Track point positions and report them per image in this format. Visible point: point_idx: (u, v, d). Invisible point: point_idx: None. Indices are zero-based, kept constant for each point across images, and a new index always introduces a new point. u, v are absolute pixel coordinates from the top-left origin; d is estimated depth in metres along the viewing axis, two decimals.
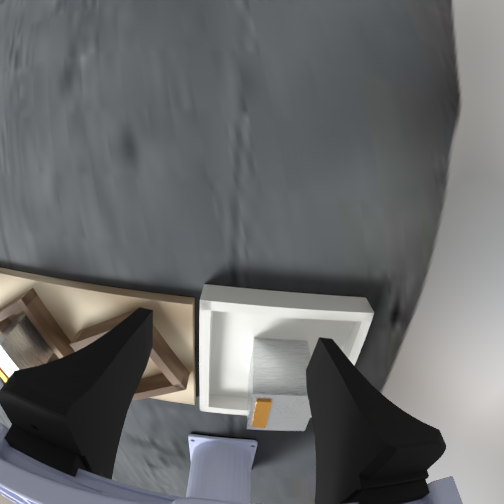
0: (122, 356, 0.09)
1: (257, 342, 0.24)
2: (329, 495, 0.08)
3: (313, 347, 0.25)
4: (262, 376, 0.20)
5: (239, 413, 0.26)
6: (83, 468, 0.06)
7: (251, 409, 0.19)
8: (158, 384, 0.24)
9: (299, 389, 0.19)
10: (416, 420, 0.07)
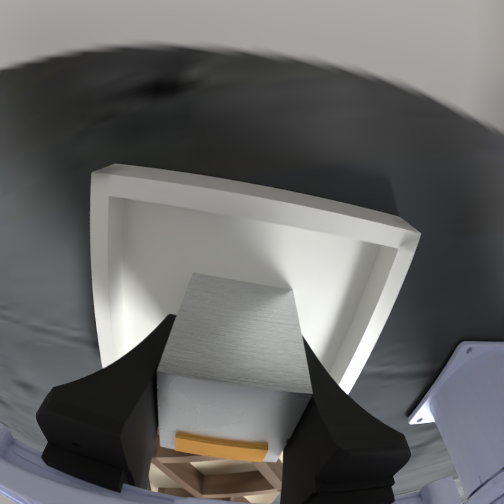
0: None
1: None
2: (291, 496, 0.08)
3: (211, 261, 0.13)
4: None
5: None
6: (126, 482, 0.06)
7: None
8: None
9: None
10: (380, 423, 0.07)
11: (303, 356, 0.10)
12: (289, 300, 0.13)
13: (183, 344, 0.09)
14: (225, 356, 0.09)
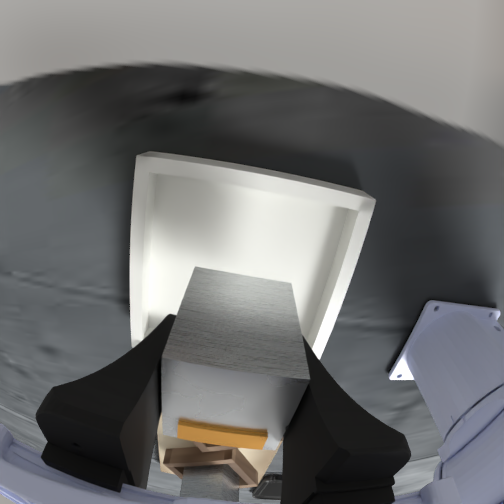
0: (160, 365, 0.09)
1: None
2: (291, 496, 0.08)
3: (221, 223, 0.18)
4: None
5: (326, 335, 0.19)
6: (126, 482, 0.06)
7: None
8: None
9: None
10: (380, 423, 0.07)
11: (301, 344, 0.10)
12: (288, 293, 0.13)
13: (186, 333, 0.10)
14: (226, 343, 0.10)
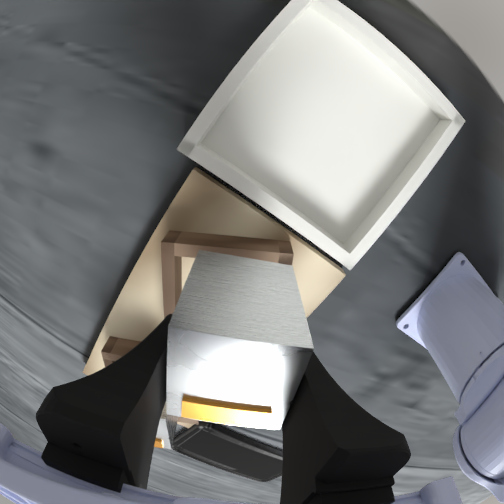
0: (160, 365, 0.09)
1: None
2: (291, 496, 0.08)
3: (338, 73, 0.16)
4: None
5: (386, 224, 0.18)
6: (126, 482, 0.06)
7: None
8: None
9: None
10: (380, 423, 0.07)
11: (303, 318, 0.11)
12: (289, 273, 0.14)
13: (192, 305, 0.10)
14: (231, 315, 0.10)
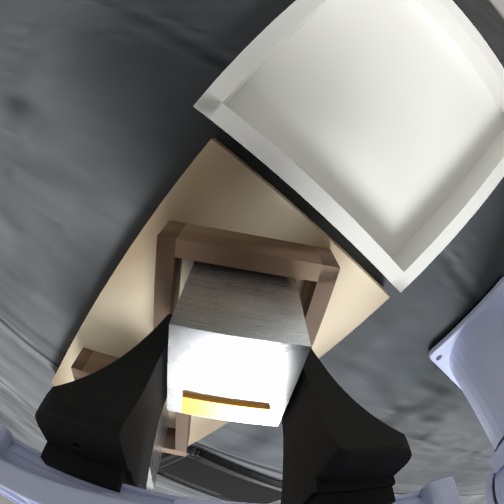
0: (160, 365, 0.09)
1: None
2: (292, 496, 0.08)
3: (408, 46, 0.11)
4: None
5: (449, 238, 0.13)
6: (125, 482, 0.06)
7: None
8: (304, 308, 0.14)
9: None
10: (381, 423, 0.07)
11: (302, 316, 0.11)
12: None
13: (193, 303, 0.10)
14: (231, 313, 0.10)
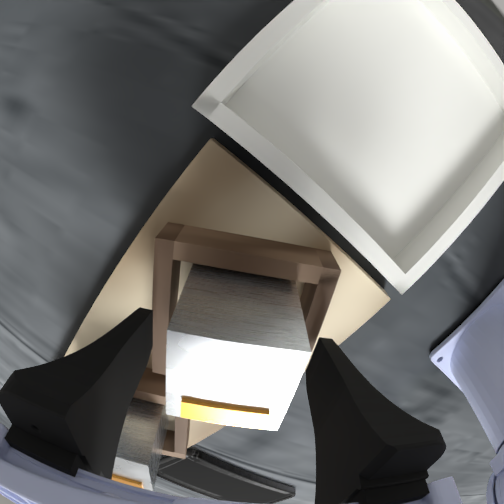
0: (122, 356, 0.09)
1: None
2: (329, 495, 0.08)
3: (410, 45, 0.11)
4: None
5: (451, 240, 0.13)
6: (83, 468, 0.06)
7: (211, 421, 0.11)
8: (305, 310, 0.14)
9: None
10: (416, 420, 0.07)
11: (302, 321, 0.11)
12: None
13: (191, 308, 0.10)
14: (230, 318, 0.10)
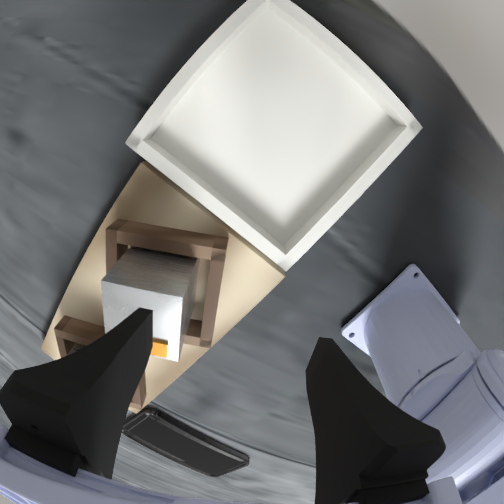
0: (122, 356, 0.09)
1: None
2: (329, 495, 0.08)
3: (289, 75, 0.16)
4: None
5: (325, 228, 0.18)
6: (83, 468, 0.06)
7: None
8: None
9: None
10: (416, 420, 0.07)
11: (187, 281, 0.16)
12: None
13: (119, 270, 0.16)
14: (140, 276, 0.16)
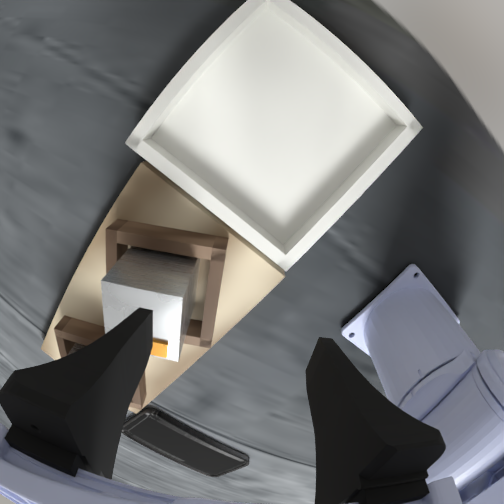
0: (122, 356, 0.09)
1: None
2: (329, 495, 0.08)
3: (289, 75, 0.16)
4: None
5: (325, 228, 0.18)
6: (83, 468, 0.06)
7: None
8: None
9: None
10: (416, 420, 0.07)
11: (187, 281, 0.16)
12: None
13: (119, 270, 0.16)
14: (140, 276, 0.16)
